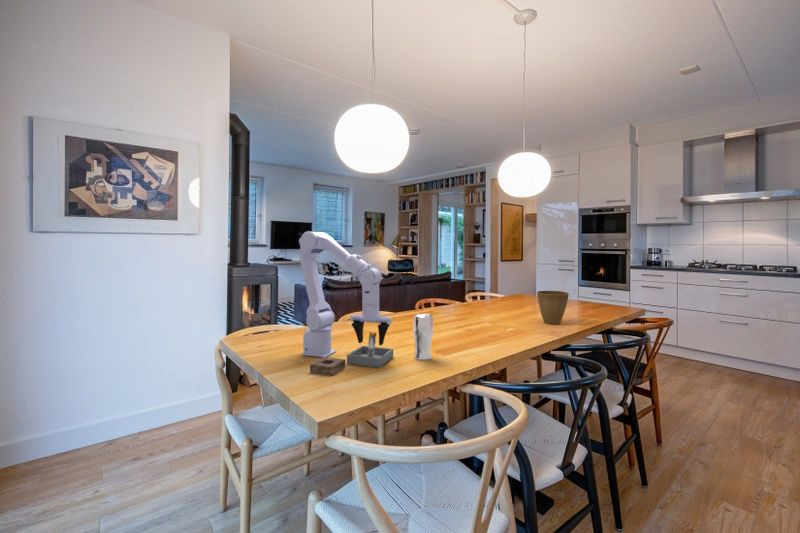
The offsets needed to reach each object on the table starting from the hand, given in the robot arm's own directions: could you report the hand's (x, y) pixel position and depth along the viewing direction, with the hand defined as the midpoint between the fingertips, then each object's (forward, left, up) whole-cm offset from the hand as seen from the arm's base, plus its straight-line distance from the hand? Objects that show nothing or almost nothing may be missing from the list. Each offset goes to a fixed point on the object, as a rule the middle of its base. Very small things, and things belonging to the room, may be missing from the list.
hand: (370, 343), depth 123 cm
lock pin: (0, 0, -5) cm, 5 cm away
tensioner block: (-9, -13, -6) cm, 17 cm away
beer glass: (+16, +9, -6) cm, 19 cm away
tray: (0, 0, -6) cm, 6 cm away
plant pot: (+63, +87, -6) cm, 108 cm away
